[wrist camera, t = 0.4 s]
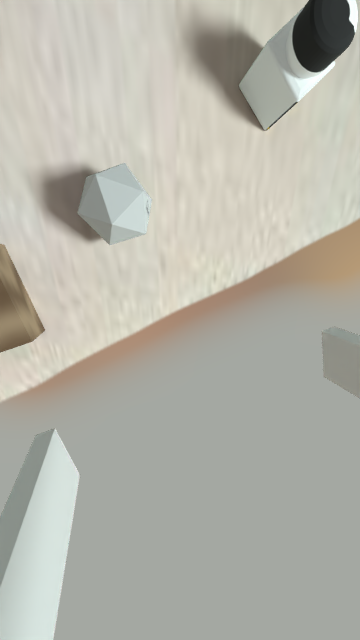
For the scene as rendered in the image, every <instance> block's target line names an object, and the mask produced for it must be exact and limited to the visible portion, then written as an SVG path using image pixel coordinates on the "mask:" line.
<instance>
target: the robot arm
mask: <svg viewBox="0 0 360 640" xmlns="http://www.w3.org/2000/svg"><path fill="white" fill-rule="evenodd" d="M322 346H323V371H324V377H325V378H327V379H329V380H330V381H332V382H334V383H335V384H337V385H339V386H340V387H342V388H343V389H345V390H347V391H348V392H350V393H352V394H353V395H355V396H357V397H358V398H360V335H358V334H355V333H352V332H349V331H346V330H343V329H340V328H337V327H332V328H329V329H326V330H324V331H322ZM78 482H79V473H78V471H77V469H76V467H75V465H74V463H73V461H72V460H71V458H70V456H69V454H68V452H67V450H66V448H65V446H64V444H63V442H62V440H61V439H60V437H59V435H58V433H57V431H56V429H55V428H54V429H51V430H48V431H46V432H43V433H40V434H37V435H36V436H35V438H34V440H33V443H32V445H31V447H30V449H29V452H28V454H27V457H26V459H25V461H24V463H23V466H22V468H21V470H20V472H19V475H18V477H17V479H16V481H15V484H14V486H13V488H12V491H11V493H10V495H9V498H8V500H7V502H6V505H5V507H4V510H3V511H2V514H1V516H0V640H53V637H54V631H55V625H56V619H57V613H58V606H59V600H60V594H61V588H62V582H63V576H64V569H65V563H66V557H67V550H68V544H69V538H70V532H71V526H72V520H73V513H74V507H75V501H76V494H77V488H78Z"/></svg>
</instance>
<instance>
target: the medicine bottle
mask: <svg viewBox="0 0 360 640" xmlns="http://www.w3.org/2000/svg"><path fill="white" fill-rule="evenodd" d="M357 21H358V11H357V5H356V1H355V0H309V1H308V3H307V4H306V5H305V7H304V8H302V9H301V10H300V11H299V12H298V13H297V14H296V15H295V16H294V17H293V18H292V19H291V20H290V21H289V22H288V23H287V24H286V25H285V26H284V27H283V28H282V29H280V30H279V31H278V32H277V33H276V34H275V35H274V36H273V37H272V38H271V39H270V40H269V41H268V42H267V43H266V45H265V46H264V48H263V49H262V51H261V52H260V54H259V55H258V57H257V58H256V60H255V61H254V63H253V64H252V66H251V67H250V69H249V70H248V72H247V73H246V75H245V76H244V78H243V79H242V81H241V82H240V84H239V88H240V89H241V91H242V93H243V95H244V96H245V98H246V100H247V101H248V103H249V105H250V107H251V108H252V110H253V112H254V113H255V115H256V117H257V119H258V120H259V122H260V124H261V125H262V127H263V129H264V130H265V131H266V130H268V129H269V128H270V127H271V126H272V125H273V124H274V123H276V122H277V121H278V120H279V119H280V118H281V117H282V116H283V115H284V114H285V113H286V112H288V111H289V110H290V109H291V108H292V107H293V106H294V105H295V104H296V103H297V102H298V101H299V100H301V99H302V98H303V97H304V96H305V95H306V94H307V93H308V92H309V91H310V90H311V89H312V88H313V87H314V86H315V85H316V84H317V83H318V82H319V81H320V80H321V79H322V78H323V77H324V76H325V75H326V74H327V73H328V72H329V71H330V70H331V69H332V68H333V67H334V65H335V62H334V60H335V59H336V58H337V57H338V56H340V55H341V54H342V53H343V52H344V51H345V50H346V49H347V48H348V47H349V45H350V44H351V42H352V40H353V38H354V35H355V31H356V28H357Z"/></svg>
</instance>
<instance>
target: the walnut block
mask: <svg viewBox="0 0 360 640" xmlns="http://www.w3.org/2000/svg"><path fill="white" fill-rule="evenodd" d="M44 331H45V329H44V327H43V325H42V323H41V321H40V319H39V317H38V314H37V312H36V310H35V308H34V306H33V304H32V302H31V300H30V298H29V296H28V293H27V291H26V289H25V287H24V285H23V283H22V281H21V279H20V277H19V275H18V273H17V270H16V268H15V266H14V264H13V262H12V260H11V258H10V256H9V254H8V252H7V249H6V247H5V245H2V244H0V352H3V351H6V350H9V349H12V348H15V347H18V346H21V345H24V344H26V343H29V342H32V341H33V340H34V339H36V338H37V337H38V336H39V335H40V334H41V333H42V332H44Z"/></svg>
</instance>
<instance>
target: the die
mask: <svg viewBox="0 0 360 640" xmlns="http://www.w3.org/2000/svg"><path fill="white" fill-rule="evenodd" d="M151 202H152V199H151V197H150V196H149V195H148V193H147V192H146V191H145V189H144V188H143V187H142V185H141V184H140V183H139V181H138V180H137V179H136V177H135V176H134V175H133V173H132V172H131V171H130V169H129V168H128V166H127V165H126V164H125V163H123V164H120V165H118V166H115V167H112V168H109V169H107V170H104V171H101V172H98V173H96V174H93V175H90V176H87V177H86V180H85V184H84V189H83V193H82V197H81V201H80V205H79V209H78V213H77V214H78V215H79V216H80V217H81V218H82V219H84V220H85V221H86V222H87V223H88V224H89V225H90V226H91V227H92V228H93V229H94V230H95V231H96V232H97V233H98V234H99V235H100V236H101V237H102V238H103V239H104V240H105V241H106V242H107V243H108V244H109V245H112V244H115V243H118V242H121V241H125V240H128V239H131V238H134V237H138V236H141V235H144V234H146V231H147V226H148V220H149V214H150V208H151Z"/></svg>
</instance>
